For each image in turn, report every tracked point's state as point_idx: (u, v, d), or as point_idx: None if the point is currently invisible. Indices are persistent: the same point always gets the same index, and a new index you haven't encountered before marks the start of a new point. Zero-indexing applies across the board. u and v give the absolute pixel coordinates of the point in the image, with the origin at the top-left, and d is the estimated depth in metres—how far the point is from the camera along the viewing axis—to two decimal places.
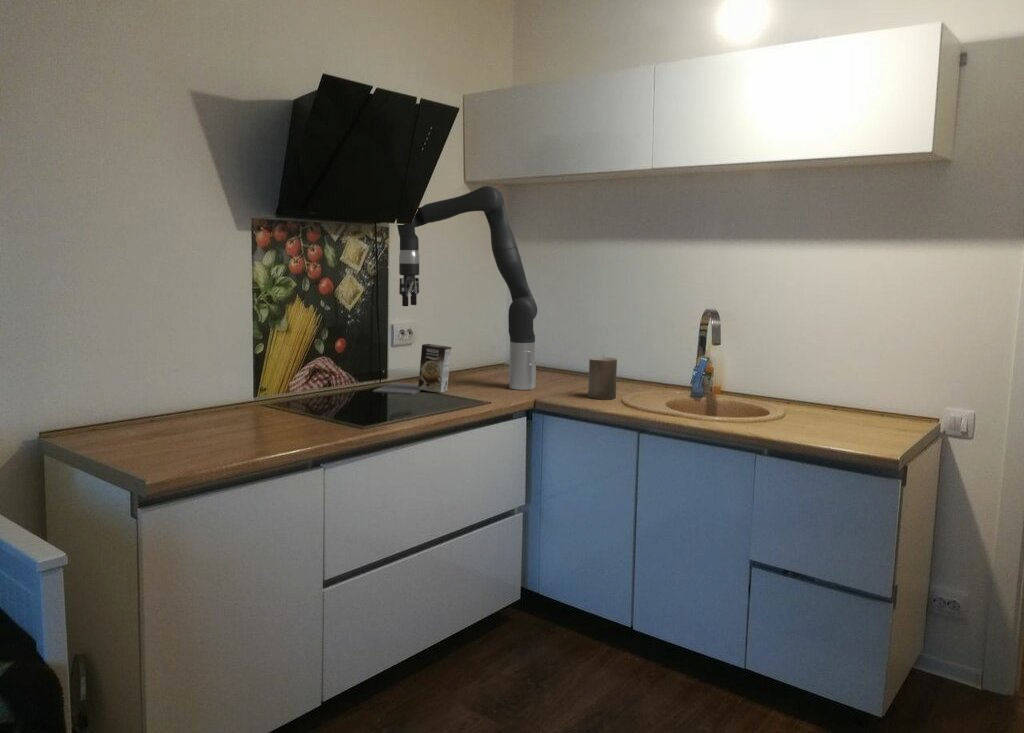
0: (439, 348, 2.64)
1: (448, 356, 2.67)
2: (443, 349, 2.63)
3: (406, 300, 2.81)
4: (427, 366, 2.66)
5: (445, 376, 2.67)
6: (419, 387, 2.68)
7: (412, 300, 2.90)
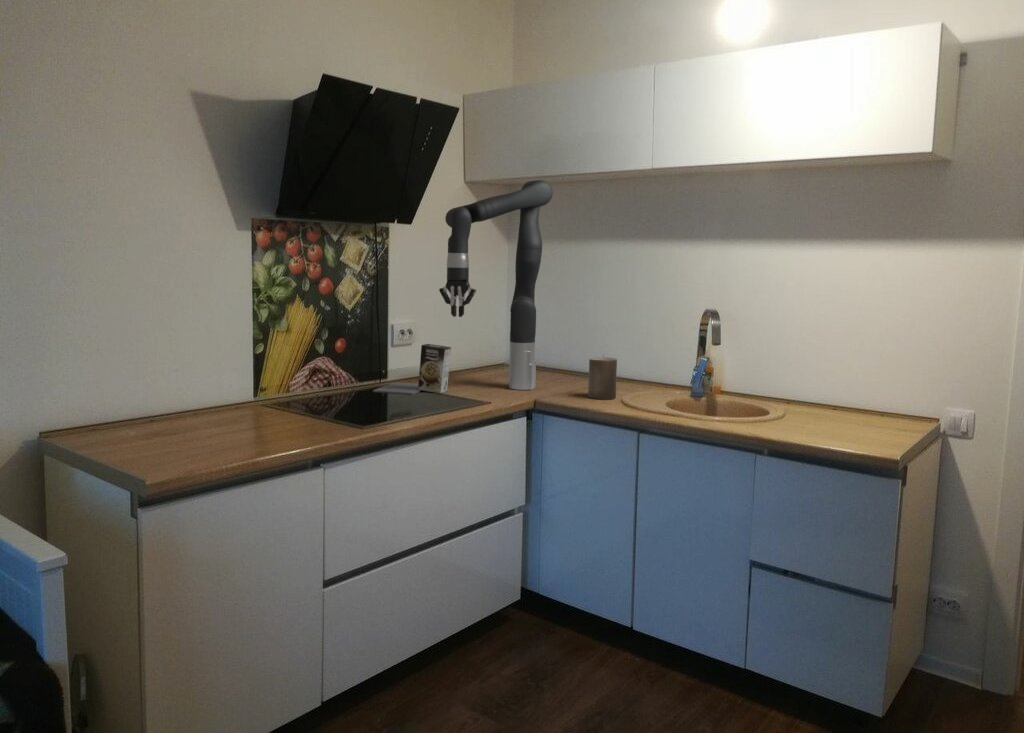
0: (439, 348, 2.64)
1: (448, 356, 2.67)
2: (443, 349, 2.63)
3: None
4: (427, 366, 2.66)
5: (445, 376, 2.67)
6: (419, 387, 2.68)
7: (455, 311, 2.63)
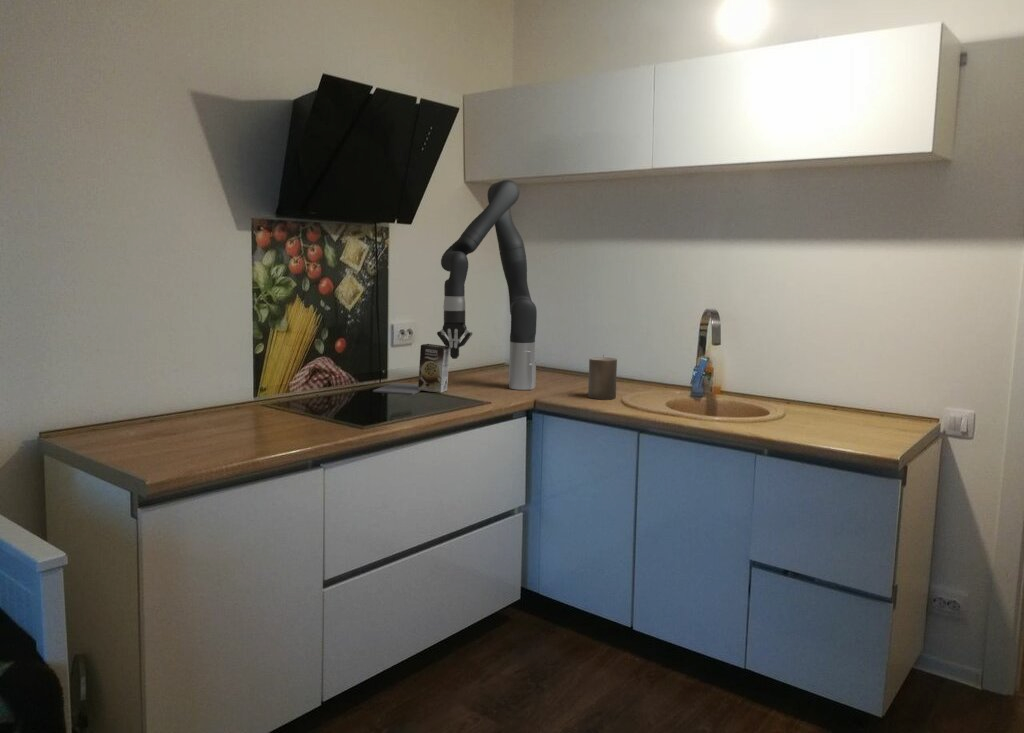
0: (438, 348, 2.64)
1: (447, 356, 2.67)
2: (442, 349, 2.63)
3: None
4: (426, 366, 2.66)
5: (445, 375, 2.67)
6: (419, 387, 2.68)
7: None
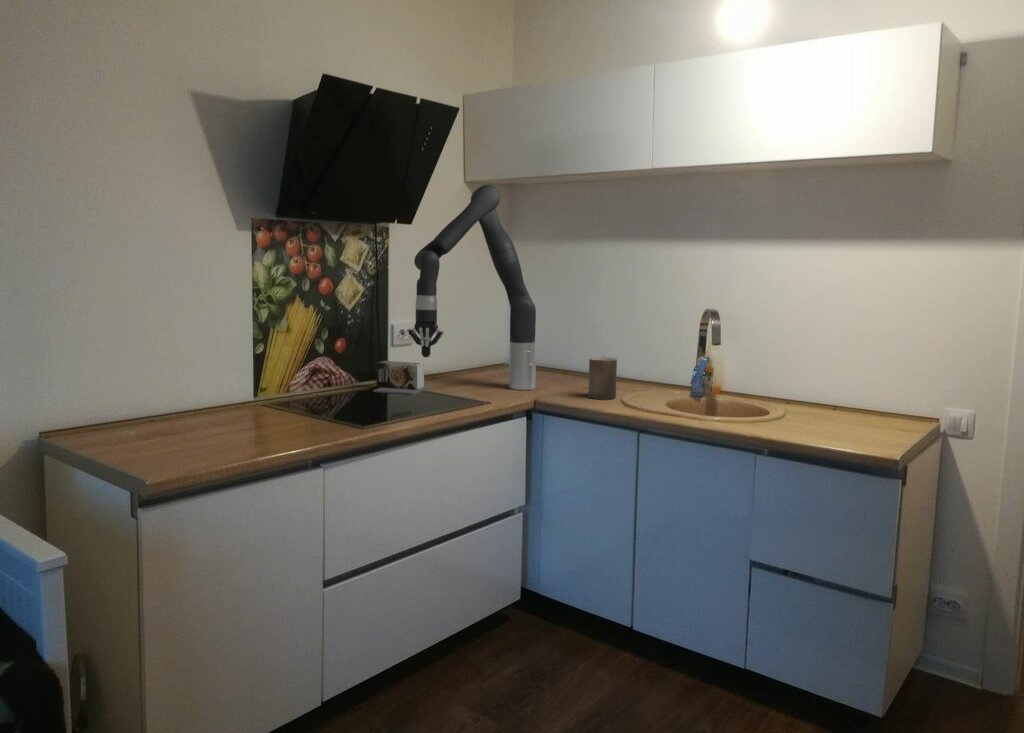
0: (377, 368, 2.71)
1: (389, 361, 2.74)
2: (377, 364, 2.71)
3: None
4: (394, 380, 2.70)
5: (406, 363, 2.71)
6: (415, 387, 2.68)
7: None
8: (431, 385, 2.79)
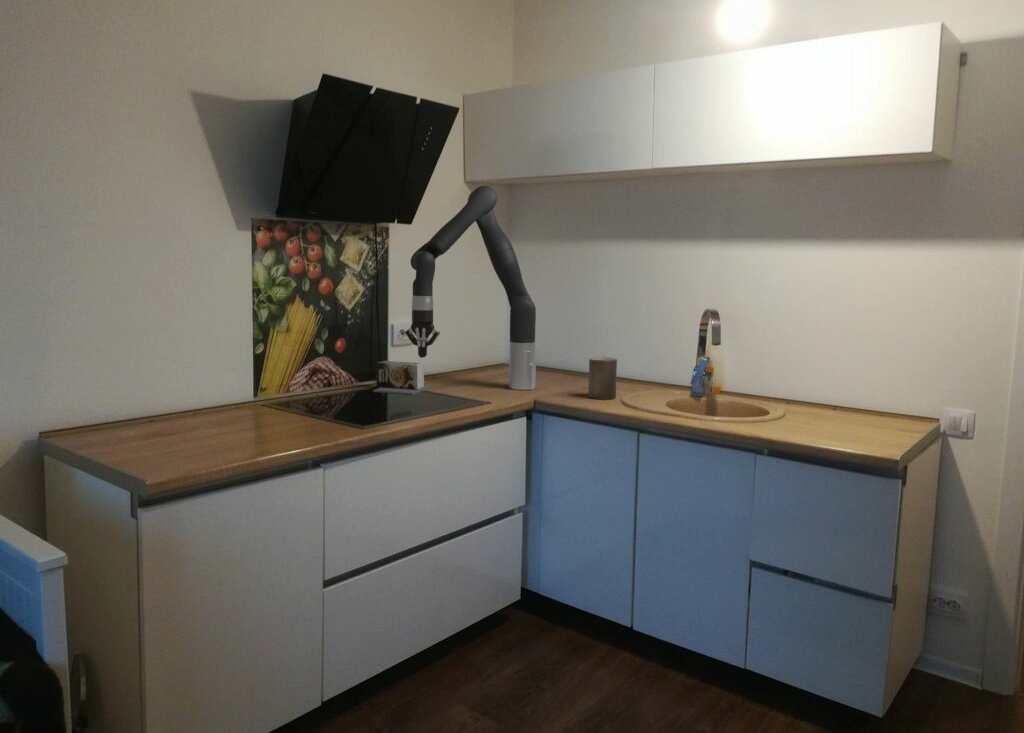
0: (377, 368, 2.71)
1: (389, 361, 2.74)
2: (377, 364, 2.71)
3: None
4: (394, 380, 2.70)
5: (406, 363, 2.71)
6: (415, 387, 2.68)
7: None
8: (431, 385, 2.79)
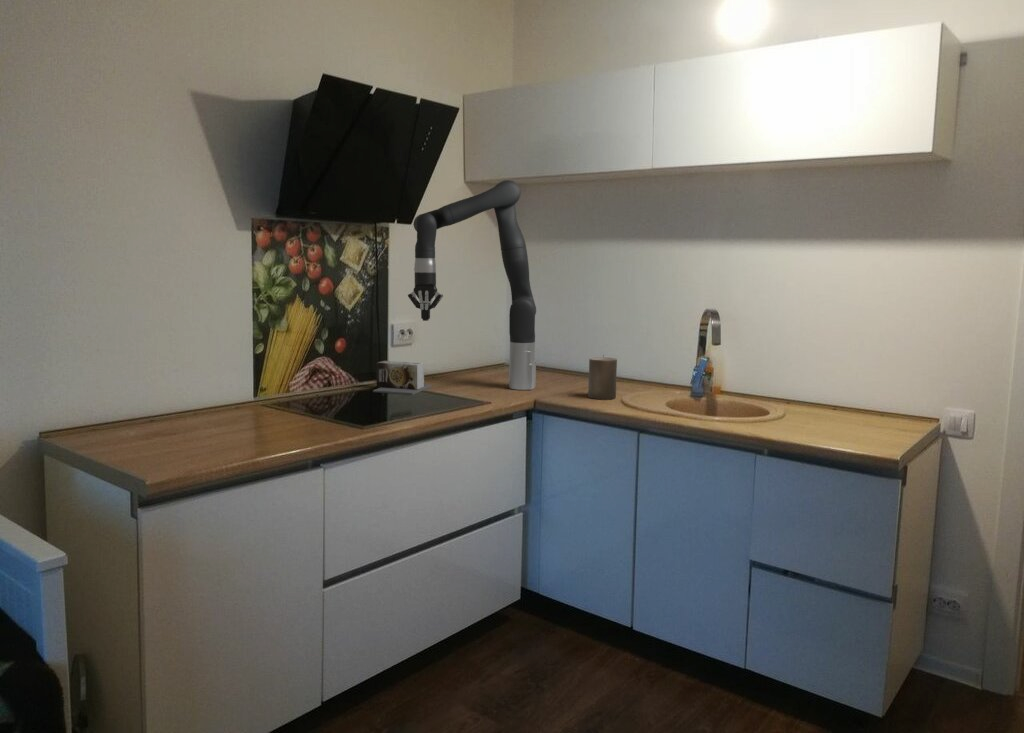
0: (377, 368, 2.71)
1: (389, 361, 2.74)
2: (377, 364, 2.71)
3: None
4: (394, 380, 2.70)
5: (406, 363, 2.71)
6: (415, 387, 2.68)
7: None
8: (431, 385, 2.79)
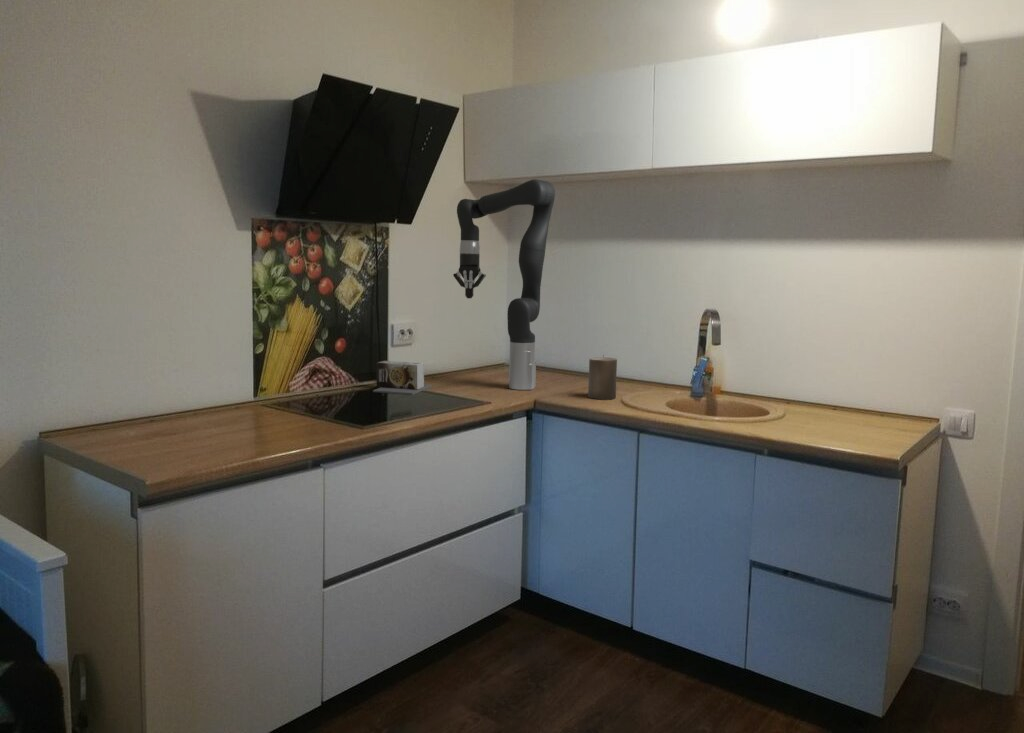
0: (377, 368, 2.71)
1: (389, 361, 2.74)
2: (377, 364, 2.71)
3: None
4: (394, 380, 2.70)
5: (406, 363, 2.71)
6: (415, 387, 2.68)
7: None
8: (431, 385, 2.79)
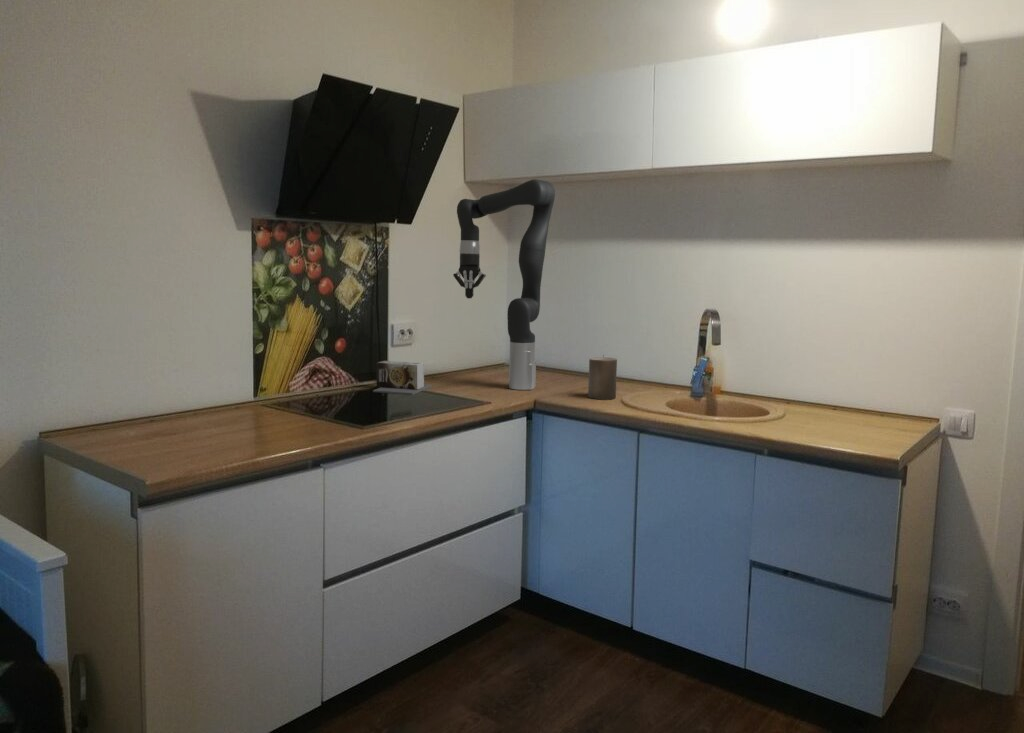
0: (377, 368, 2.71)
1: (389, 361, 2.74)
2: (377, 364, 2.71)
3: None
4: (394, 380, 2.70)
5: (406, 363, 2.71)
6: (415, 387, 2.68)
7: None
8: (431, 385, 2.79)
